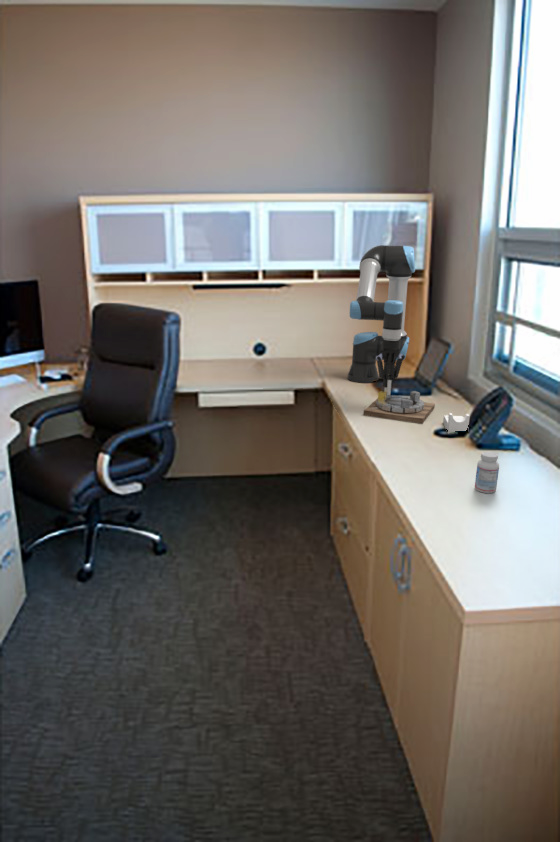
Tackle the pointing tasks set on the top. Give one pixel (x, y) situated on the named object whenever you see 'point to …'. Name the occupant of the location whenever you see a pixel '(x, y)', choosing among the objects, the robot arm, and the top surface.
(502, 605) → the top surface
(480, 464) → the pill bottle
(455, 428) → the bracket
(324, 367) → the top surface
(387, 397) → the grey block ring
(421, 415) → the walnut base
